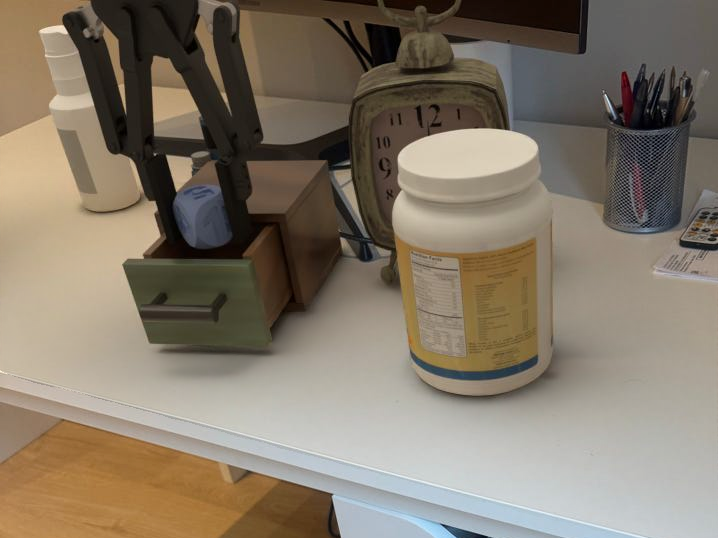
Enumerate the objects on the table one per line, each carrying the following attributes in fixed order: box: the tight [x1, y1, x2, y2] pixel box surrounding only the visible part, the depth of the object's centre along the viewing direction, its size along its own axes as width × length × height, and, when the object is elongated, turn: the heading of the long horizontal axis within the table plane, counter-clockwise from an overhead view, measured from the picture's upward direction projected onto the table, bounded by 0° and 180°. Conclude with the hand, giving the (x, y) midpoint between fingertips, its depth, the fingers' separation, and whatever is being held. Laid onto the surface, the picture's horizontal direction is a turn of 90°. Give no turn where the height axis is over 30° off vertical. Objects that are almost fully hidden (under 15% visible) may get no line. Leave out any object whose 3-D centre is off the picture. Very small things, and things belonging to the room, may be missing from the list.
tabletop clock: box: [347, 0, 511, 284], centre depth 82 cm, size 14×9×25 cm, turn 89°
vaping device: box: [190, 115, 222, 178], centre depth 98 cm, size 3×5×12 cm, turn 147°
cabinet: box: [153, 159, 343, 312], centre depth 89 cm, size 14×13×9 cm
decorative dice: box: [173, 185, 233, 249], centre depth 79 cm, size 4×4×4 cm
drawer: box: [121, 222, 294, 348], centre depth 81 cm, size 16×11×7 cm
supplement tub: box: [392, 129, 554, 397], centre depth 71 cm, size 12×12×17 cm
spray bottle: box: [38, 24, 141, 213], centre depth 104 cm, size 7×7×18 cm
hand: (210, 237), depth 80 cm, fingers closed on decorative dice, 5 cm apart
